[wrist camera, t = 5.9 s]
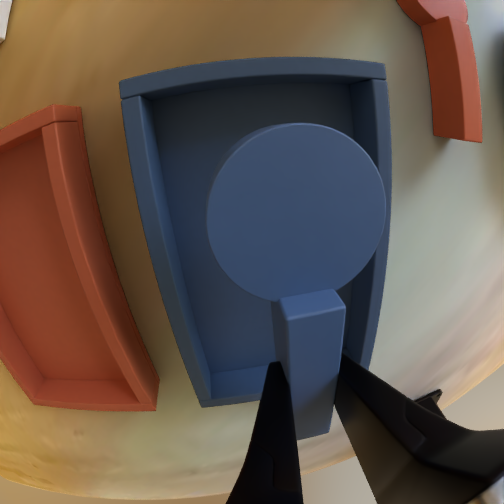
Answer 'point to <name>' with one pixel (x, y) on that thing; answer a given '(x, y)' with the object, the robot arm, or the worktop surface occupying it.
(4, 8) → the milk carton
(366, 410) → the robot arm
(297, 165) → the blue spoon
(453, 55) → the terracotta spoon
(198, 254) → the blue tray
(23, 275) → the terracotta tray
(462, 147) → the worktop surface
